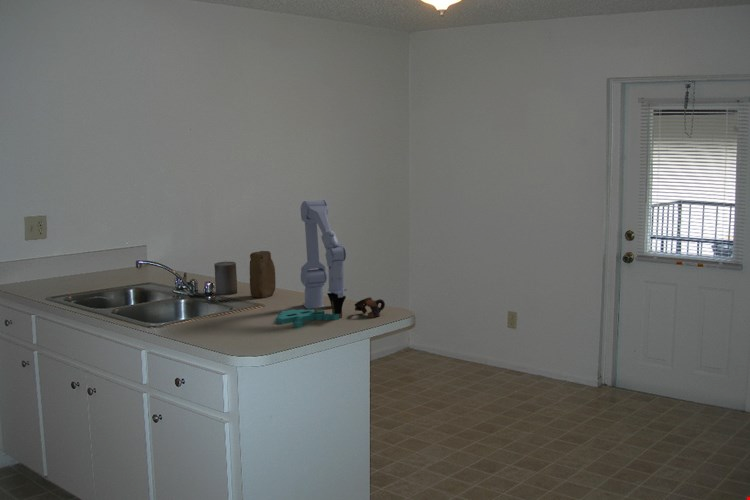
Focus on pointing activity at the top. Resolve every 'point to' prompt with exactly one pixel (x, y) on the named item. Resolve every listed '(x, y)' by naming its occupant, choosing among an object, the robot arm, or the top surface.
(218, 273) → the pillar candle
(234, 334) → the top surface
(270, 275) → the brown jar
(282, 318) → the alien figure
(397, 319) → the top surface
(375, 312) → the broken pottery
